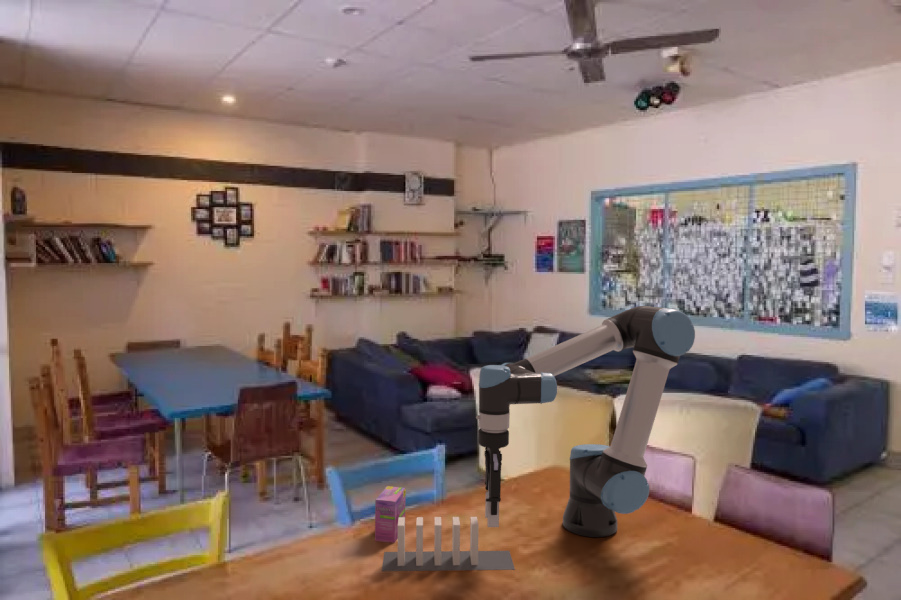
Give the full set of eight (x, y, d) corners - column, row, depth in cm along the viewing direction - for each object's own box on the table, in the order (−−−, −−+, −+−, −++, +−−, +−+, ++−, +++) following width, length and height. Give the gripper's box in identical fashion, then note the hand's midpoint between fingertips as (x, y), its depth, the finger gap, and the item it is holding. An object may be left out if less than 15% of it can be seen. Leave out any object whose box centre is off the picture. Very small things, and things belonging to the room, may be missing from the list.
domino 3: (440, 555, 159) (441, 516, 159) (441, 565, 154) (441, 525, 154) (434, 555, 159) (434, 517, 159) (434, 565, 154) (434, 525, 154)
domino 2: (422, 556, 159) (423, 517, 159) (422, 565, 154) (422, 525, 154) (416, 556, 159) (416, 517, 158) (416, 565, 154) (416, 525, 153)
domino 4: (458, 555, 159) (458, 516, 159) (459, 565, 154) (460, 525, 154) (452, 555, 159) (452, 516, 159) (453, 565, 154) (453, 525, 154)
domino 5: (476, 555, 160) (476, 516, 159) (478, 564, 155) (478, 524, 154) (470, 555, 160) (470, 516, 159) (471, 565, 155) (471, 524, 154)
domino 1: (404, 556, 159) (405, 517, 158) (404, 565, 154) (404, 525, 153) (398, 556, 159) (398, 517, 158) (397, 565, 154) (397, 525, 153)
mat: (509, 552, 163) (509, 550, 162) (514, 571, 153) (514, 569, 153) (384, 554, 161) (384, 551, 161) (381, 573, 151) (381, 570, 151)
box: (395, 545, 167) (395, 501, 166) (374, 543, 168) (374, 499, 167) (405, 528, 177) (406, 487, 176) (386, 527, 178) (386, 485, 177)
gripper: (475, 419, 164) (473, 507, 166) (481, 439, 146) (479, 537, 148) (504, 420, 165) (502, 507, 166) (514, 439, 147) (511, 537, 148)
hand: (491, 521), depth 157 cm, fingers closed on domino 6, 5 cm apart
